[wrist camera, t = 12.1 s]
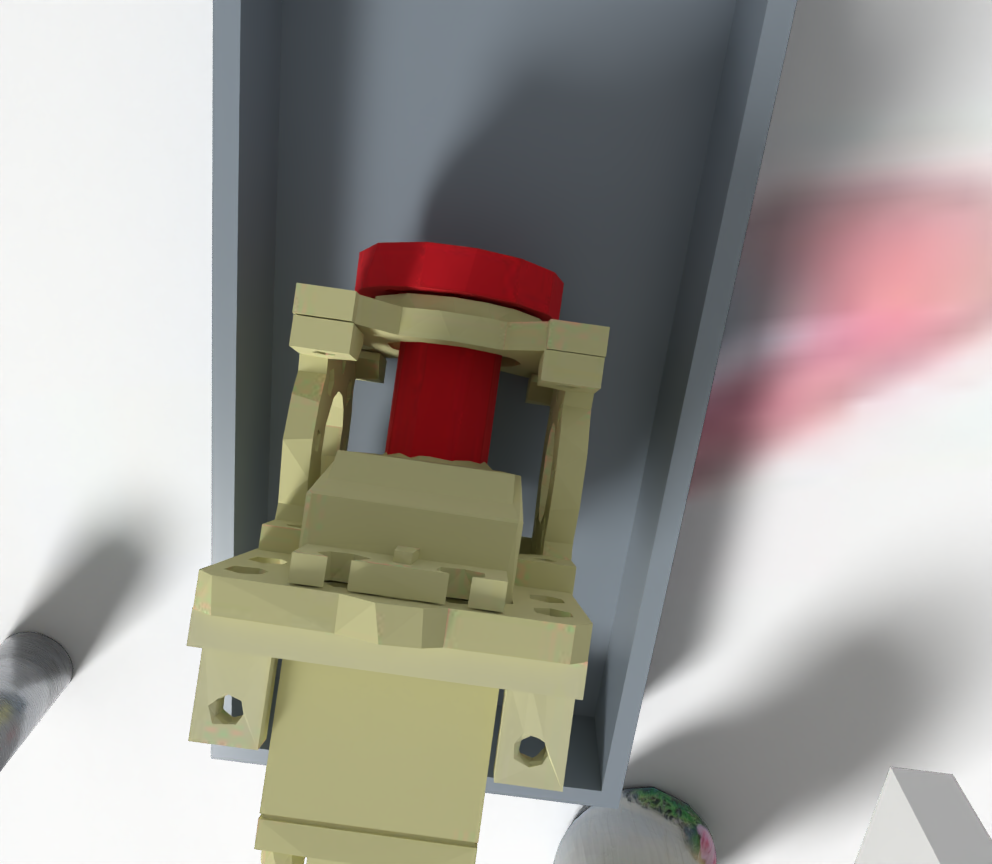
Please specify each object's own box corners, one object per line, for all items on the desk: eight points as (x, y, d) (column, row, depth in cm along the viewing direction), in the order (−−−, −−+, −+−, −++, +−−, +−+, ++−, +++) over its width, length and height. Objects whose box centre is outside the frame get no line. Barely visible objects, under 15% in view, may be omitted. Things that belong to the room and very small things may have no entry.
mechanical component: (578, 259, 35) (710, -22, 15) (517, 706, 34) (568, 1048, 14) (381, 231, 35) (244, -91, 15) (315, 678, 34) (77, 982, 14)
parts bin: (268, -170, 25) (213, -222, 21) (778, -103, 25) (828, -141, 21) (249, 678, 35) (211, 758, 31) (608, 723, 35) (618, 809, 31)
